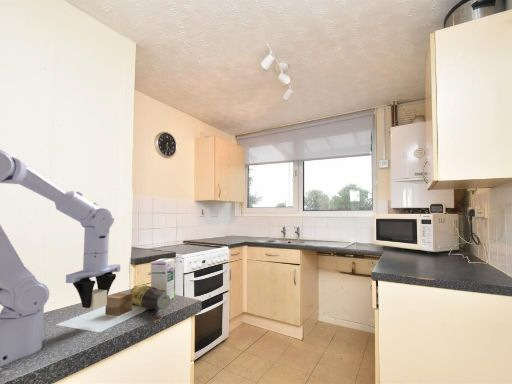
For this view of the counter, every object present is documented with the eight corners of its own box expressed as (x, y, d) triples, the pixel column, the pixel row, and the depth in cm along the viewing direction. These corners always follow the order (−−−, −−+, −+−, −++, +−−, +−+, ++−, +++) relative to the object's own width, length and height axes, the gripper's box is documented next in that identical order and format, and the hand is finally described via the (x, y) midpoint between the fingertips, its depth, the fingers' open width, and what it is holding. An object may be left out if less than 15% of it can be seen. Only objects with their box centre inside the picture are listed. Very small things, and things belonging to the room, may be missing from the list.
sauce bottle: (140, 280, 91) (168, 283, 77) (150, 294, 92) (179, 299, 79) (123, 294, 86) (150, 300, 73) (134, 309, 88) (162, 317, 74)
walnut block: (118, 316, 76) (118, 298, 76) (105, 314, 77) (105, 296, 78) (132, 310, 80) (132, 293, 81) (119, 308, 82) (119, 292, 83)
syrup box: (167, 307, 85) (167, 261, 86) (150, 306, 86) (150, 261, 87) (175, 301, 90) (175, 258, 92) (159, 300, 91) (159, 258, 93)
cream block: (93, 310, 68) (93, 294, 68) (81, 308, 69) (82, 293, 70) (106, 305, 72) (107, 290, 72) (95, 303, 73) (96, 288, 73)
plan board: (99, 335, 65) (99, 332, 65) (55, 327, 71) (55, 324, 71) (151, 310, 82) (151, 307, 82) (112, 305, 88) (112, 303, 88)
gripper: (81, 257, 64) (79, 315, 62) (128, 249, 77) (127, 297, 76) (60, 256, 66) (58, 312, 65) (110, 249, 79) (109, 295, 78)
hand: (94, 304), depth 70 cm, fingers closed on cream block, 4 cm apart
